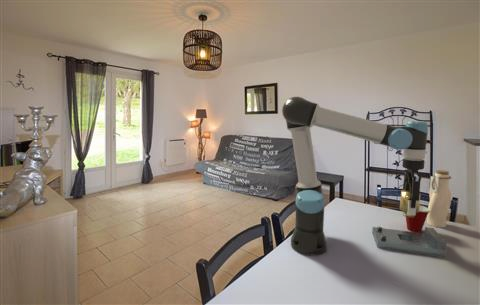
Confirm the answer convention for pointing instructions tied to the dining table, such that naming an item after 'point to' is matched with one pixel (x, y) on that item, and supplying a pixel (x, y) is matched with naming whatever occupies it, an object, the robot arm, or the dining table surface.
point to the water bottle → (439, 199)
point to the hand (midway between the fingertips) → (408, 211)
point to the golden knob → (404, 203)
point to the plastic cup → (417, 220)
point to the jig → (410, 241)
